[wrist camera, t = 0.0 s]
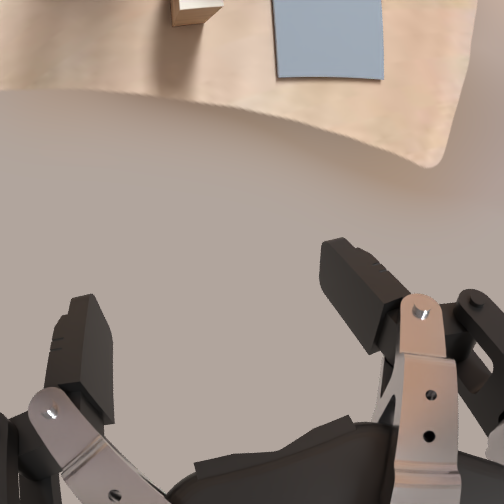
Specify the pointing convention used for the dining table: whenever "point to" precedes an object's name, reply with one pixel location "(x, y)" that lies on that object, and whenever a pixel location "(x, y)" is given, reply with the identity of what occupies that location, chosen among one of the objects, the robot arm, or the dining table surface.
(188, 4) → the slab
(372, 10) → the mat
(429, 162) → the dining table surface
